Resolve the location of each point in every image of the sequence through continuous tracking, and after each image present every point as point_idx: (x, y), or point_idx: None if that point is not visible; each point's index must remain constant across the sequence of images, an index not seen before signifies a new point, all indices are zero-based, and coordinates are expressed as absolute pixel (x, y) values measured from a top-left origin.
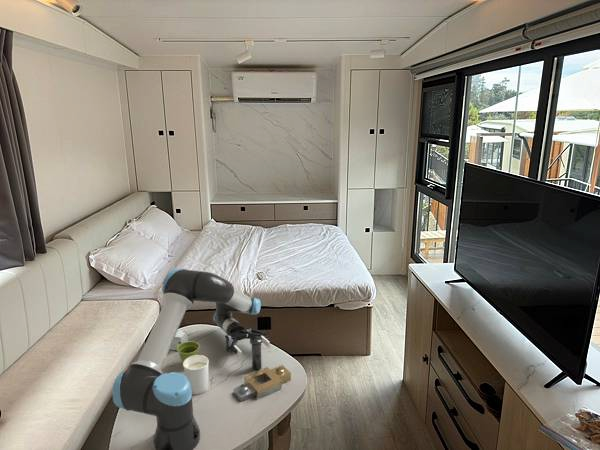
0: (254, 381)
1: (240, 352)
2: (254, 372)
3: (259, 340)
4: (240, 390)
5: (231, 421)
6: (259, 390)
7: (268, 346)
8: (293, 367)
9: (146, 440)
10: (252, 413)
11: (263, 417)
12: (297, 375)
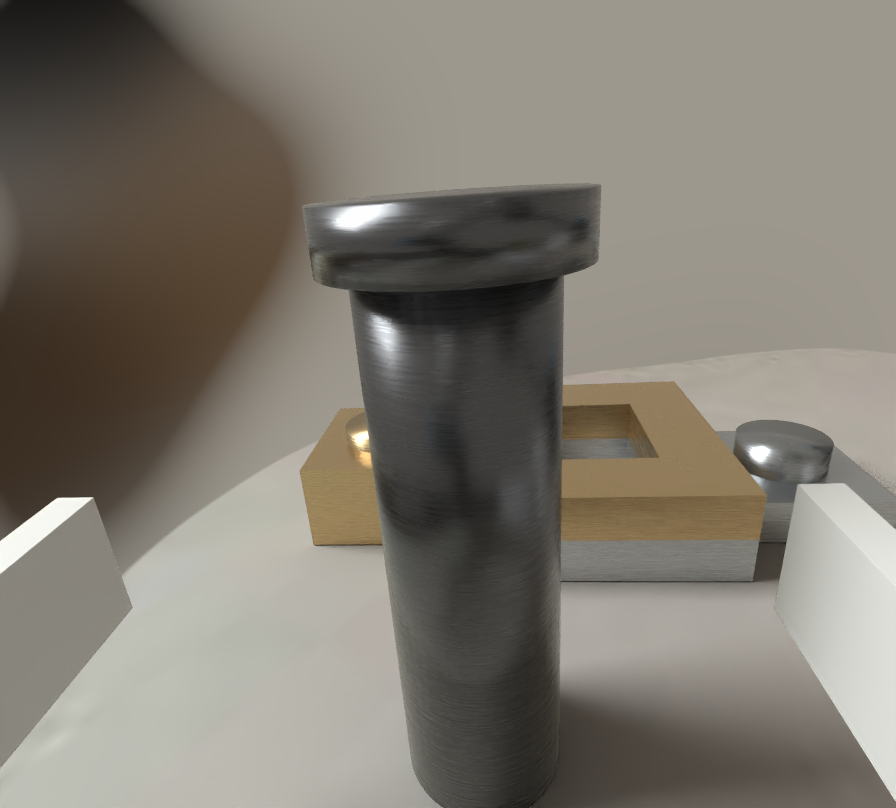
0: (665, 430)
1: (847, 489)
2: (622, 493)
3: (418, 193)
4: (818, 436)
5: (881, 401)
6: (655, 385)
7: (122, 582)
8: (185, 547)
9: None
10: (732, 401)
11: (675, 379)
12: (270, 482)
